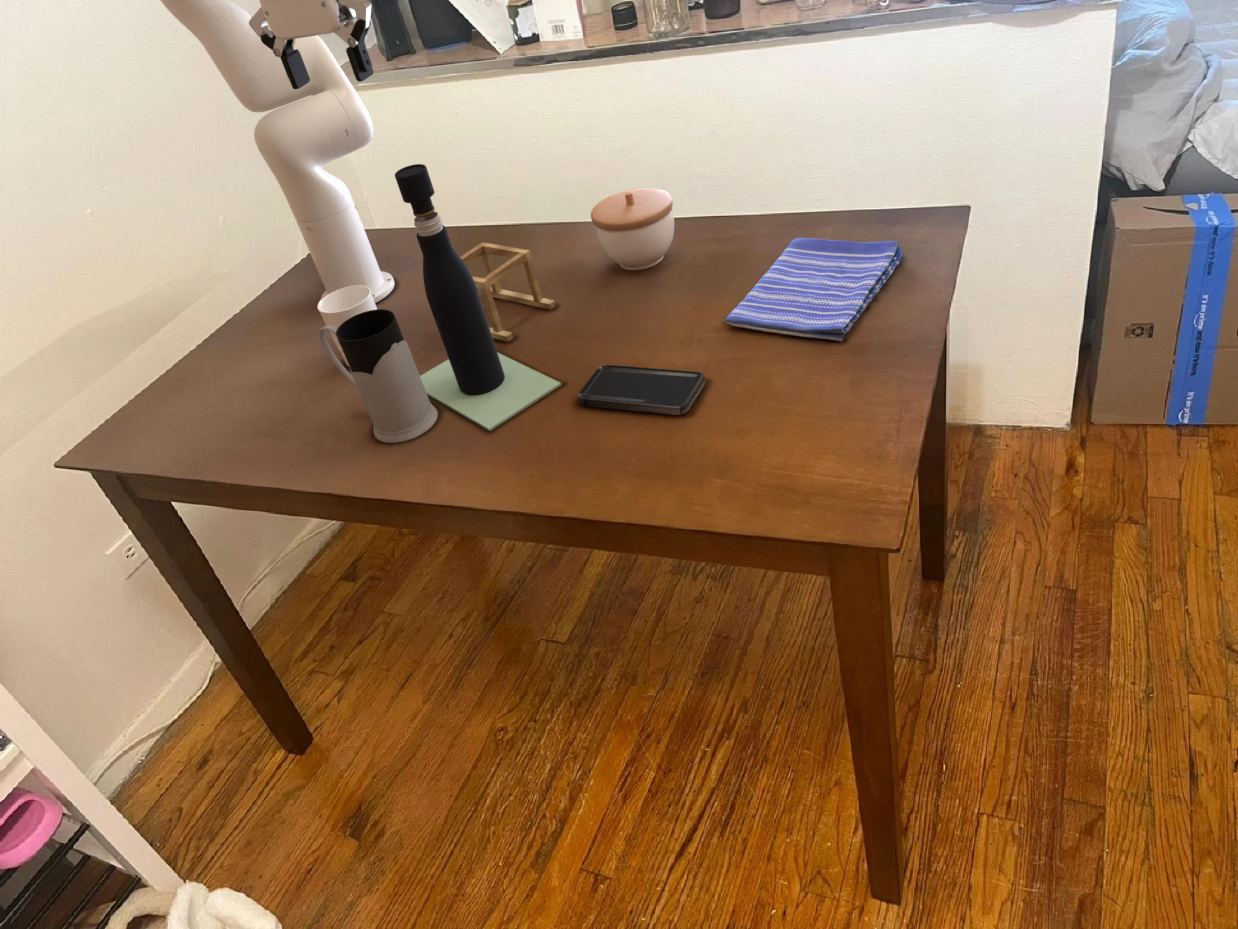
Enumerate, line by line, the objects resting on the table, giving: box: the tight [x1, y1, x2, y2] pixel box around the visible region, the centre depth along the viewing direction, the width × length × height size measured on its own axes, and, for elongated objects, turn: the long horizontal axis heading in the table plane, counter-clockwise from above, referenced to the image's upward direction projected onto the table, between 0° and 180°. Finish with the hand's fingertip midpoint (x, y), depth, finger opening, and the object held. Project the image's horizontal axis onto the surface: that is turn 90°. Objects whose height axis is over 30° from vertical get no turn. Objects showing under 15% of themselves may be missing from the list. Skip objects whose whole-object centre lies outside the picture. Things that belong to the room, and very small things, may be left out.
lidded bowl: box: [590, 187, 675, 271], centre depth 147 cm, size 13×13×11 cm
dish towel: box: [723, 237, 905, 342], centre depth 130 cm, size 17×24×3 cm
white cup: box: [316, 285, 378, 368], centre depth 139 cm, size 8×8×10 cm
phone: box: [577, 364, 706, 416], centre depth 119 cm, size 8×1×15 cm
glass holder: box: [318, 308, 439, 444], centre depth 123 cm, size 9×14×15 cm, turn 58°
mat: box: [420, 351, 562, 432], centre depth 129 cm, size 20×12×1 cm, turn 42°
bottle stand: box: [460, 241, 557, 343], centre depth 142 cm, size 14×11×9 cm
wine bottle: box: [394, 163, 505, 395], centre depth 120 cm, size 6×6×30 cm
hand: (333, 81), depth 119 cm, fingers open, 9 cm apart
